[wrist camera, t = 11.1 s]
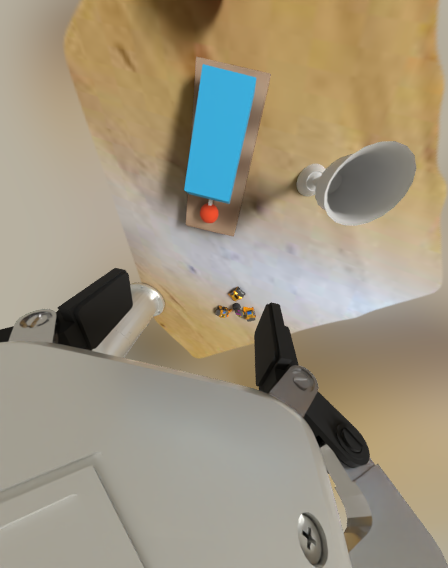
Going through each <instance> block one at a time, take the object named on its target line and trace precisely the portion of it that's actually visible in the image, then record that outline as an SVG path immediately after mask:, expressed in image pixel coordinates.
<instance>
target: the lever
mask: <svg viewBox="0 0 448 568" xmlns="http://www.w3.org/2000/svg"><path fill="white" fill-rule="evenodd" d="M255 86H256V77H252V76H248V75H245V74H241V73H237V72H233V71H229V70H225V69H221V68H217V67H213V66H209V65H205V64H203V65H202V72H201V79H200V85H199V92H198V99H197V106H196V113H195V120H194V126H193V133H192V140H191V147H190V154H189V161H188V167H187V174H186V181H185V188H184V190H185V191H186V192H187V193H188V194H191V195H195V196H199V197H203V198H207V199H209V202H208V203H207V204H205V205H203V206H202V207H201V210H200V216H201V219H202V220H203V221H204V222H206V223H213V222H215V221H216V220H217V218H218V209H217V207H216V206H215V205H214V204H213V200H215V201H219V202H223V203H227V204H230V200H231V195H232V191H233V186H234V182H235V177H236V173H237V169H238V164H239V160H240V155H241V151H242V147H243V142H244V138H245V133H246V129H247V125H248V120H249V116H250V111H251V107H252V103H253V98H254V94H255Z"/></svg>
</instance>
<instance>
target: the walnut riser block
mask: <svg viewBox="0 0 448 568" xmlns="http://www.w3.org/2000/svg"><path fill="white" fill-rule="evenodd" d="M203 64H205V65H209V66H213V67H217V68H221V69H225V70H229V71H233V72H237V73H241V74H245V75H248V76H252V77H256V86H255V94H254V98H253V103H252V107H251V111H250V116H249V120H248V125H247V129H246V133H245V138H244V142H243V147H242V151H241V155H240V160H239V164H238V169H237V173H236V177H235V182H234V186H233V191H232V195H231V200H230V204H227V203H223V202H219V201H215V200H213V204H214V205H215V206H216V207H217V209H218V218H217V220H216V221H215V222H213V223H206V222H204V221H203V220H202V219H201V216H200V210H201V207H202V206H203V205H205V204H207V203H208V202H209V199H207V198H203V197H199V196H195V195H191V194H188V197H187V213H186V225H187V226H191V227H196V228H200V229H204V230H208V231H212V232H217V233H221V234H225V235H229V236H234V233H235V230H236V225H237V221H238V217H239V212H240V208H241V204H242V199H243V195H244V191H245V186H246V182H247V178H248V173H249V169H250V165H251V160H252V156H253V152H254V147H255V143H256V139H257V134H258V130H259V125H260V121H261V117H262V112H263V108H264V104H265V99H266V95H267V91H268V86H269V81H270V76H271V74H269V73H265V72H261V71H256V70H252V69H248V68H243V67H239V66H234V65H230V64H226V63H221V62H217V61H213V60H208V59H204V58H200V57H196V70H195V86H194V101H193V117H192V133H193V126H194V120H195V113H196V106H197V99H198V92H199V85H200V79H201V72H202V65H203ZM192 133H191V140H192Z"/></svg>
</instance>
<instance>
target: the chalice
mask: <svg viewBox="0 0 448 568" xmlns="http://www.w3.org/2000/svg"><path fill="white" fill-rule="evenodd" d="M415 171H416V163H415V156H414V154H413V153H412V152H411V150H410V149H409V148H408V147H407V146H406V145H403V144H401V143H398V142H395V141H390V142H378V143H375V144H372V145H369V146H366V147H364V148H362V149H361V150H359V151H358V152H356V153H354V154H350V155H347V156H344V157H341V158H340V159H338V160H336V161H335V162H333V163H332V164H331V165H330V166H329V167H328V168H327V169H325V168H324V167H323V166H322V165H319V164H312V165H309V166H307V167H306V168H304V169H303V171H302V172H301V173H300V175H299V177H298V179H297V189H298V191H299V192H300V193H301V194H302V195H304V196H312V195H315V198H316V200H317V203H318V205H319V206H320V207H321V208H322V209H324V210H326V212H327V214H328V216H329V217H330V218H331V219H333V220H334V221H335V222H337V223H340V224H342V225H360V224H364V223H369V222H371V221H373V220H375V219H377V218H379V217H381V216H383V215H384V214H385V213H387V212H388V211H390V210H391V209H392V208H394V207H395V206H396V205H397V203H398V202H399V201H400V200H401V199H402V198H403V197H404V196H405V194H406V193H407V191H408V189H409V188H410V186H411V184H412V182H413V179H414V175H415Z"/></svg>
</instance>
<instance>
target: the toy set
mask: <svg viewBox="0 0 448 568" xmlns="http://www.w3.org/2000/svg"><path fill="white" fill-rule="evenodd" d="M231 294H232V295H231ZM228 295H230V296H231V297H232V299H233V301H237V300H239V299H242V298H243V297H244V295H245V293H244V292H243V291H242V290H240V288H239V287H236V289H235V290H234V291H231V293H230V294H228ZM220 307H221V308H224V309H221V308H220ZM240 308H241V306H240V304H238V303H234V304H233V309H234V310H235V313H236V315H237V316H239V317H243V316H244V314H245V319H247V321H254V320H255V317H256V315H255V313H254V312H255V311H254V309H253V307H252V308H247V307H243V309H244V313H243V311H242V310H240ZM249 310H251V311H249ZM231 311H232V309H230V310H228V309H227V307H226V308H225V307H222V306H218V309H217V310H216V312H215V314H216V315H217V316H219V317H220V318H225V317H228V316H229V315H228V314H229V313H230V312H231ZM247 311H248V312H247ZM227 312H228V314H227ZM226 314H227V315H226Z"/></svg>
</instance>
